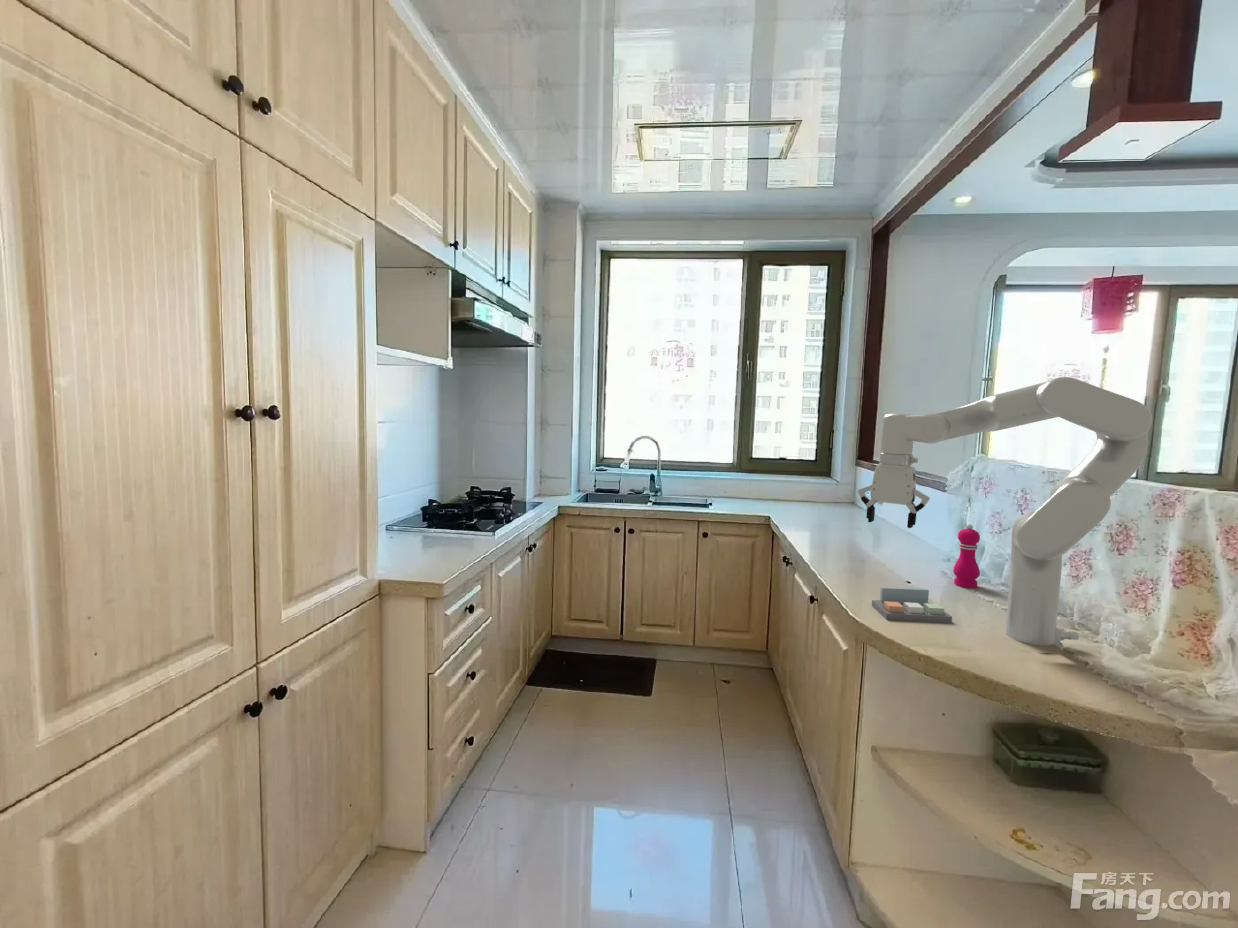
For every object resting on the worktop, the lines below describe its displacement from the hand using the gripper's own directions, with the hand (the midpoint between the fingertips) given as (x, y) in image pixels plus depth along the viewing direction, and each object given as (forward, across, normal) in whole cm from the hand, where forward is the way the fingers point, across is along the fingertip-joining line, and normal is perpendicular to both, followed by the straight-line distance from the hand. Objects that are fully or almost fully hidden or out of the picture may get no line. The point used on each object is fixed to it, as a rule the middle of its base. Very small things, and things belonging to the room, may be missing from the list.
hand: (890, 524), depth 145 cm
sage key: (+23, -11, -3) cm, 26 cm away
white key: (+23, -7, 0) cm, 24 cm away
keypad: (+25, -6, -2) cm, 26 cm away
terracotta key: (+24, -3, +2) cm, 24 cm away
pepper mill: (+25, -13, -48) cm, 55 cm away
